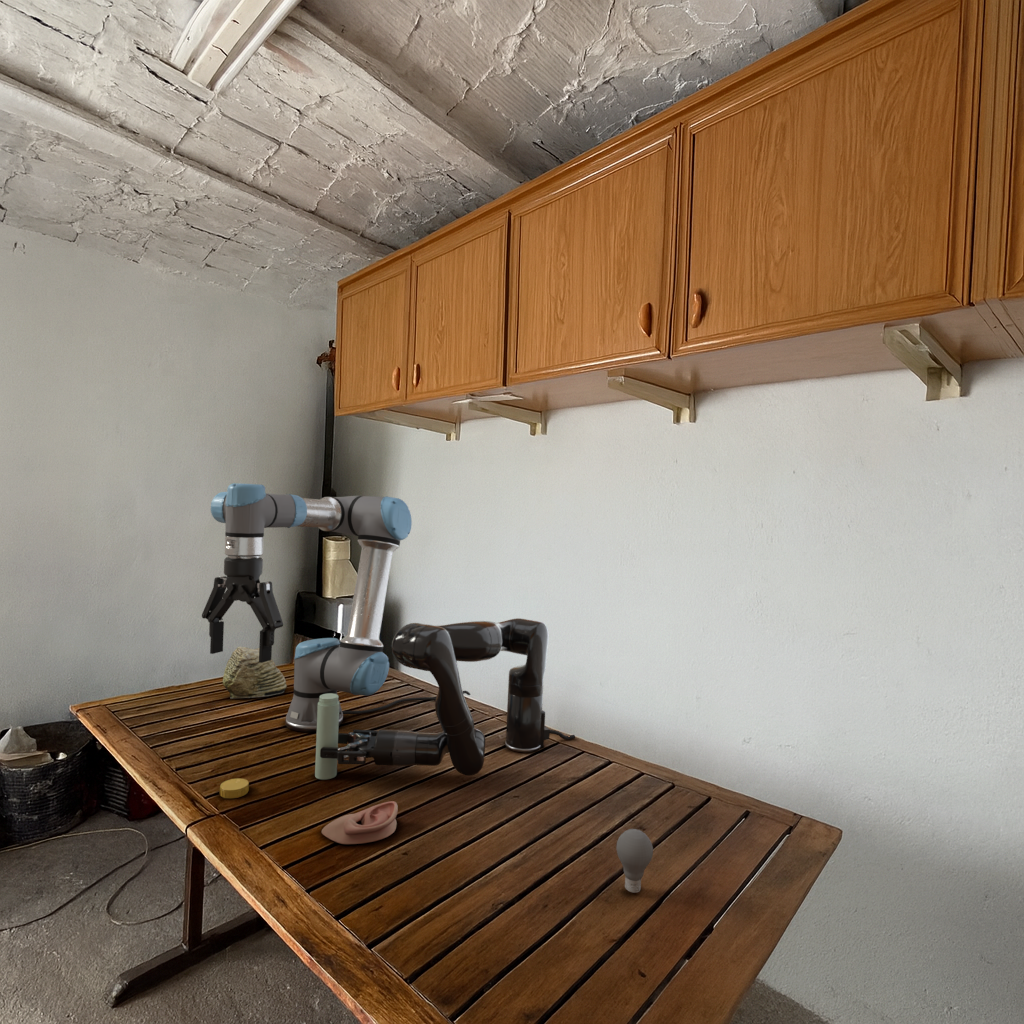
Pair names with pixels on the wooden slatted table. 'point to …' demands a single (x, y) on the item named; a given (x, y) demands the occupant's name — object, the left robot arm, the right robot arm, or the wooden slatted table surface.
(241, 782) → the lid
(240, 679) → the fossil
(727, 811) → the wooden slatted table surface
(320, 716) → the jar
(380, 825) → the anatomical model
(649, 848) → the light bulb
